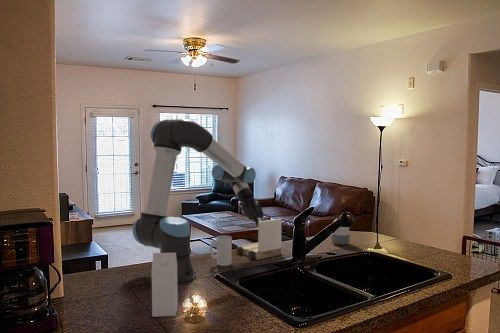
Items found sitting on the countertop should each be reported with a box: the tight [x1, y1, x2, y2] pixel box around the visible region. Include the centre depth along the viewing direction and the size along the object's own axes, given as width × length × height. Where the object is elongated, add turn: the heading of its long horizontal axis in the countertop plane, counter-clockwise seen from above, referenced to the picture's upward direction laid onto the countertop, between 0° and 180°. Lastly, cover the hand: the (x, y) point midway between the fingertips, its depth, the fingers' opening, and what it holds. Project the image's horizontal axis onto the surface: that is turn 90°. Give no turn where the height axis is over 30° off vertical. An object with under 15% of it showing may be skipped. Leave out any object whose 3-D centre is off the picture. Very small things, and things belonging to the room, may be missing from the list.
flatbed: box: [235, 242, 282, 261], centre depth 198 cm, size 16×17×4 cm
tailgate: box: [257, 218, 283, 253], centre depth 190 cm, size 1×14×14 cm, turn 127°
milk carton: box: [151, 252, 179, 318], centre depth 129 cm, size 7×7×19 cm
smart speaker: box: [331, 218, 351, 246], centre depth 216 cm, size 10×9×14 cm
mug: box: [209, 235, 233, 267], centre depth 180 cm, size 10×7×12 cm, turn 112°
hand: (263, 230), depth 194 cm, fingers closed
